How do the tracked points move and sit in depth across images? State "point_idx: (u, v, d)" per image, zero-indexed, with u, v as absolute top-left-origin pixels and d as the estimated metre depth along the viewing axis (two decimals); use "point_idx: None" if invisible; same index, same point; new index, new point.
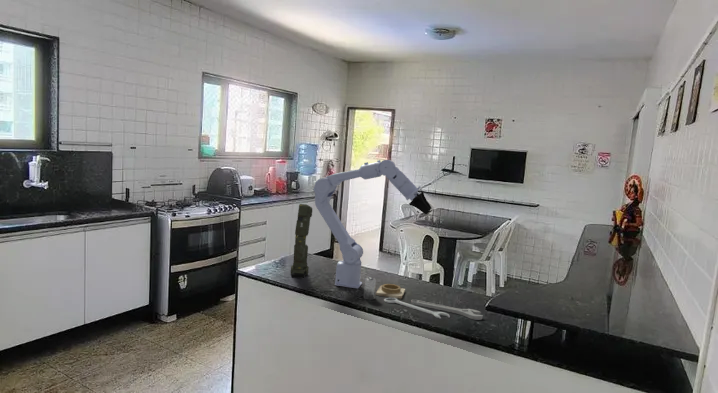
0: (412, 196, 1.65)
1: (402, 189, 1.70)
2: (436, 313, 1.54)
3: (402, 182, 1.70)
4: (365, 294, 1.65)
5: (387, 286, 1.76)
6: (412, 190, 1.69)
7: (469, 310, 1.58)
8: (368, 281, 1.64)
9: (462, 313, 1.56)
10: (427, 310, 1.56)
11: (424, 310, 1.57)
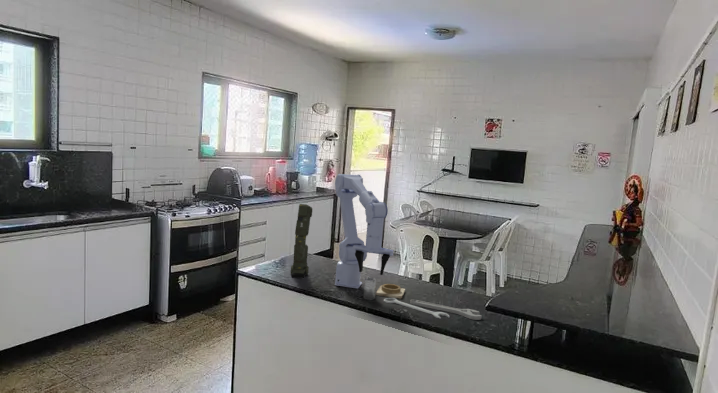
0: None
1: None
2: (436, 313, 1.54)
3: (368, 233, 1.62)
4: (365, 294, 1.65)
5: (387, 286, 1.76)
6: (365, 246, 1.64)
7: (468, 310, 1.58)
8: (368, 281, 1.64)
9: (461, 313, 1.56)
10: (427, 310, 1.56)
11: (424, 310, 1.57)
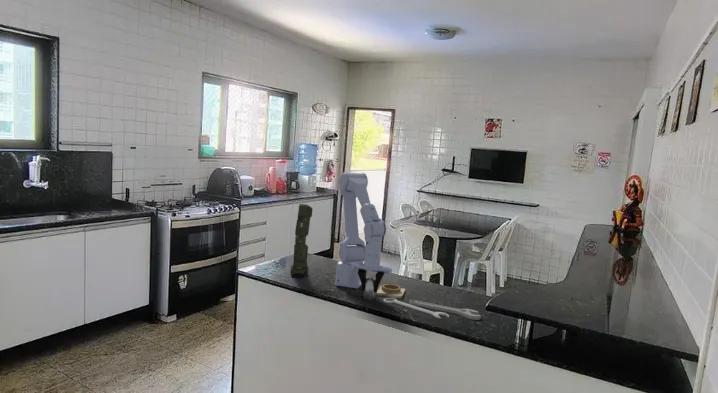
0: None
1: None
2: (436, 313, 1.54)
3: (367, 252, 1.63)
4: (365, 294, 1.65)
5: (387, 286, 1.76)
6: (364, 264, 1.65)
7: (467, 310, 1.58)
8: (368, 281, 1.64)
9: (460, 313, 1.56)
10: (426, 310, 1.56)
11: (423, 310, 1.56)
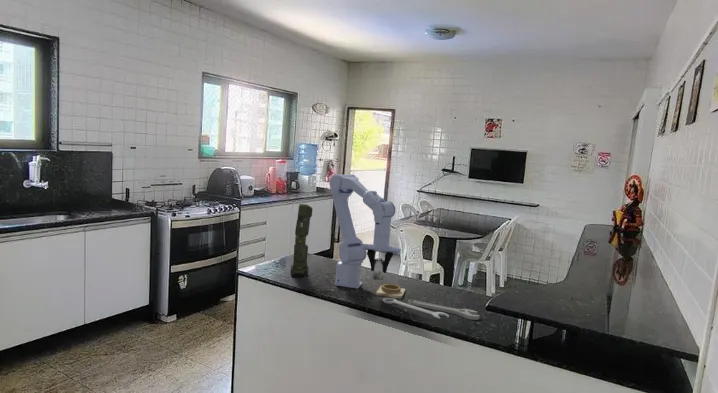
0: None
1: None
2: (435, 313, 1.54)
3: (377, 233, 1.64)
4: (374, 275, 1.67)
5: (387, 286, 1.76)
6: (373, 244, 1.67)
7: (466, 310, 1.58)
8: (377, 262, 1.66)
9: (459, 313, 1.56)
10: (426, 310, 1.56)
11: (423, 310, 1.56)
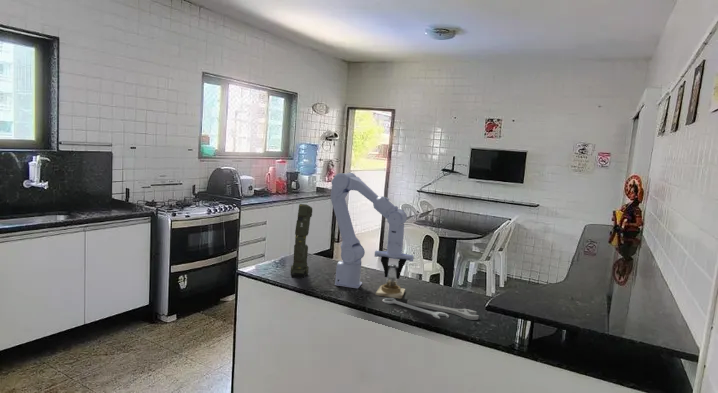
0: None
1: None
2: (435, 313, 1.54)
3: (394, 241, 1.69)
4: (387, 281, 1.72)
5: (387, 286, 1.76)
6: (387, 251, 1.72)
7: (465, 310, 1.58)
8: (390, 268, 1.71)
9: (458, 313, 1.56)
10: (426, 310, 1.56)
11: (423, 310, 1.56)
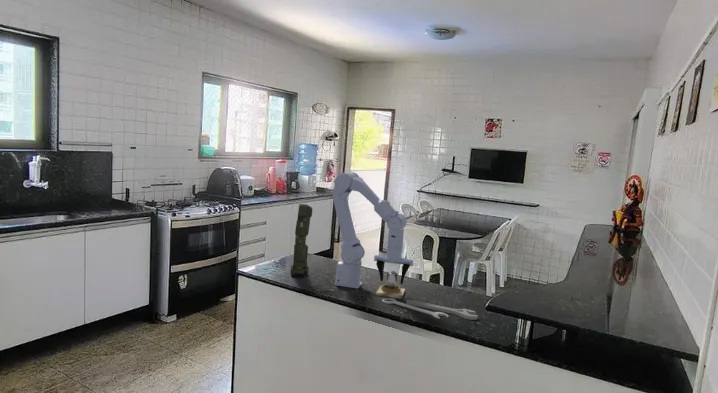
0: None
1: None
2: (435, 313, 1.54)
3: (394, 245, 1.69)
4: (387, 287, 1.72)
5: None
6: (386, 256, 1.72)
7: (464, 310, 1.58)
8: (390, 274, 1.71)
9: (457, 313, 1.56)
10: (426, 310, 1.56)
11: (423, 310, 1.56)
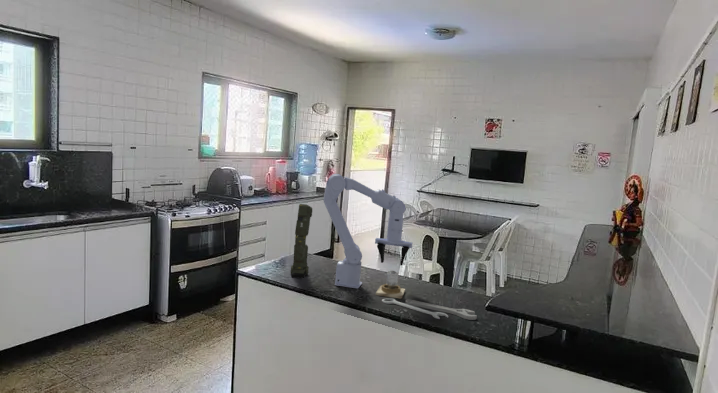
0: None
1: None
2: (435, 313, 1.54)
3: (397, 228, 1.77)
4: (387, 287, 1.72)
5: None
6: (387, 238, 1.79)
7: (463, 310, 1.58)
8: (390, 274, 1.71)
9: (456, 313, 1.56)
10: (425, 310, 1.56)
11: (422, 310, 1.56)
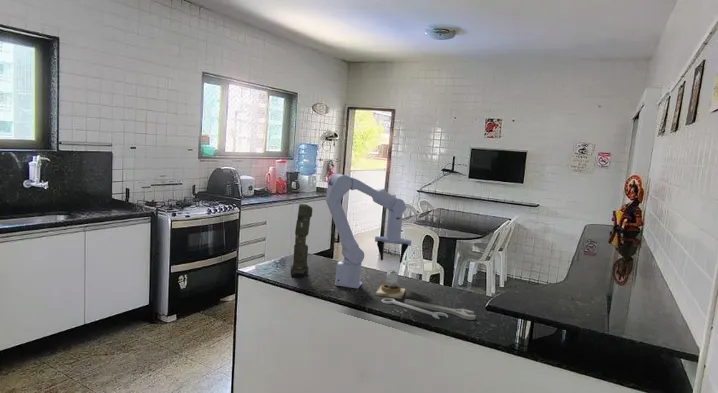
0: (375, 239, 1.85)
1: None
2: (434, 313, 1.54)
3: (398, 227, 1.81)
4: (386, 287, 1.73)
5: None
6: (386, 237, 1.83)
7: (462, 310, 1.58)
8: (389, 274, 1.72)
9: (455, 313, 1.56)
10: (425, 310, 1.56)
11: (422, 310, 1.56)
